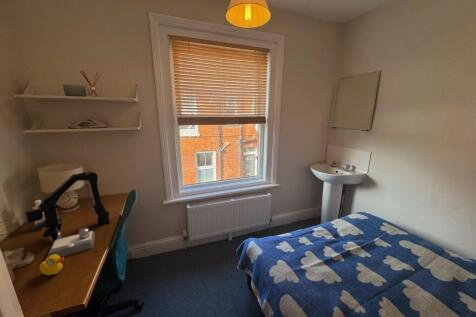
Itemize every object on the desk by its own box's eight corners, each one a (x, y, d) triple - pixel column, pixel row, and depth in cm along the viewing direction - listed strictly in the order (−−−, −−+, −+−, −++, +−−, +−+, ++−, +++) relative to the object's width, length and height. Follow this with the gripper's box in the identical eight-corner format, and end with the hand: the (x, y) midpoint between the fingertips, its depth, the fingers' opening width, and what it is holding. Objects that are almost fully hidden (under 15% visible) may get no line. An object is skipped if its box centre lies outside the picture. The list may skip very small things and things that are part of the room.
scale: (94, 234, 130) (93, 228, 129) (93, 248, 117) (91, 241, 116) (54, 244, 120) (53, 237, 119) (47, 260, 106) (45, 253, 105)
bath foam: (47, 228, 136) (42, 201, 132) (34, 231, 133) (28, 203, 129) (51, 223, 142) (46, 198, 138) (39, 225, 139) (33, 199, 135)
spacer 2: (89, 233, 125) (88, 226, 124) (89, 237, 121) (88, 230, 120) (80, 236, 123) (78, 229, 122) (79, 240, 119) (77, 233, 118)
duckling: (70, 268, 101) (67, 251, 99) (62, 276, 96) (58, 259, 94) (47, 269, 101) (43, 252, 98) (37, 277, 95) (33, 259, 93)
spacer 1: (62, 237, 127) (61, 230, 126) (60, 241, 123) (59, 234, 122) (52, 239, 124) (50, 232, 123) (50, 243, 120) (48, 236, 119)
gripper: (37, 213, 124) (42, 235, 127) (27, 227, 108) (33, 251, 112) (61, 208, 129) (65, 230, 133) (54, 221, 114) (59, 245, 117)
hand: (56, 238), depth 123 cm, fingers closed on spacer 1, 5 cm apart
